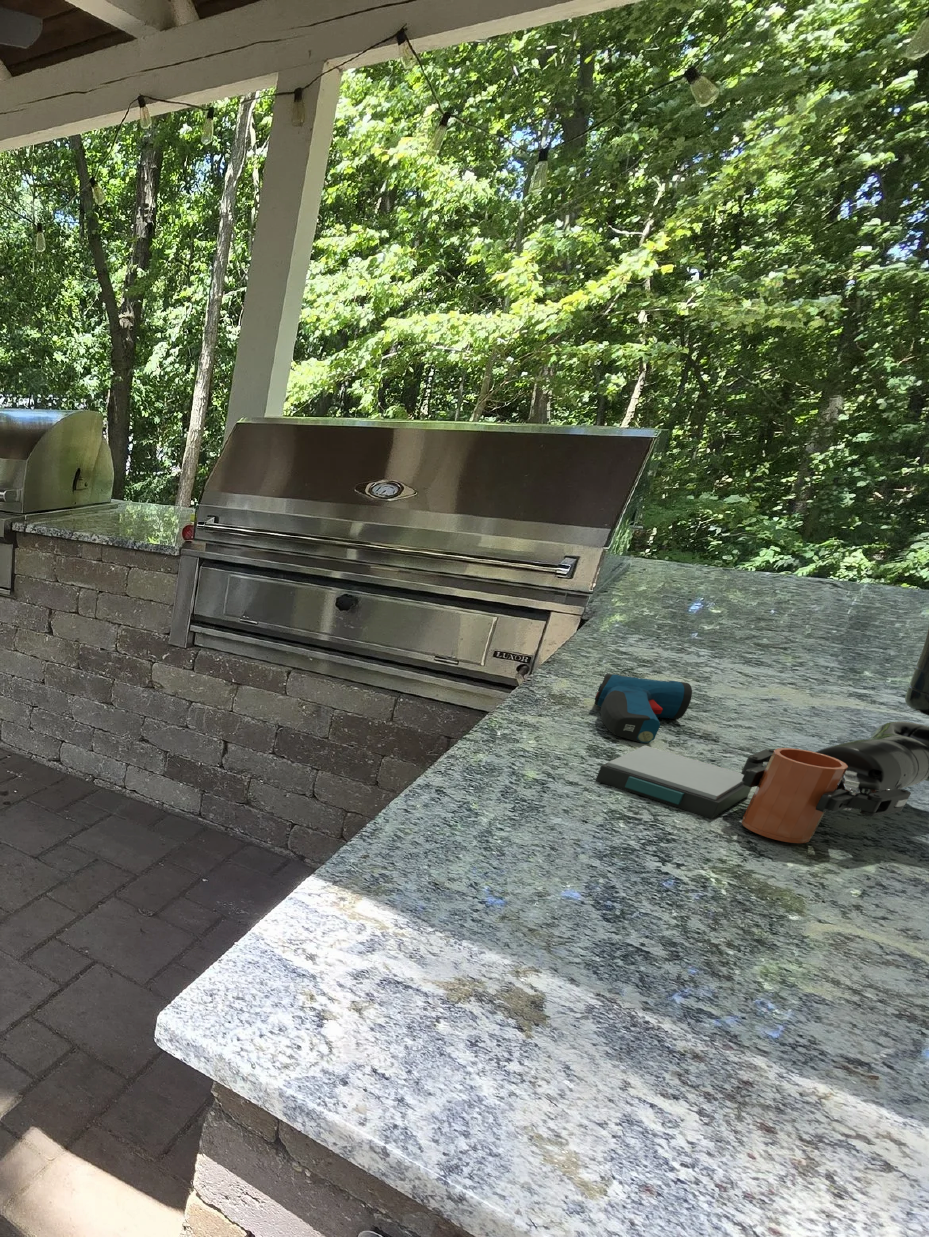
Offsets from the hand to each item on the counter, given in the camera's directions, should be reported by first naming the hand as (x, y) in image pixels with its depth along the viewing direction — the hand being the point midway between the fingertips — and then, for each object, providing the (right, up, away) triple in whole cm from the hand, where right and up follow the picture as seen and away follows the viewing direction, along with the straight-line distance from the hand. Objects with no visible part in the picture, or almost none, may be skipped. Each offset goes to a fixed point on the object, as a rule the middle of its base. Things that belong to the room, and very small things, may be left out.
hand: (785, 790), depth 97 cm
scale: (0, 0, +15) cm, 15 cm away
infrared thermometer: (+15, +9, +37) cm, 41 cm away
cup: (+2, -5, +3) cm, 6 cm away
